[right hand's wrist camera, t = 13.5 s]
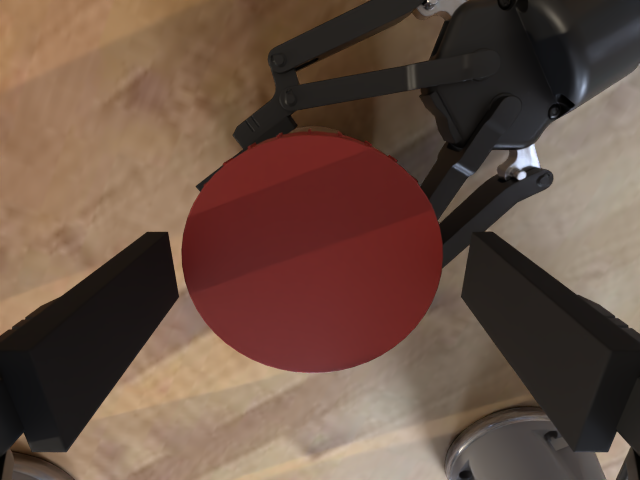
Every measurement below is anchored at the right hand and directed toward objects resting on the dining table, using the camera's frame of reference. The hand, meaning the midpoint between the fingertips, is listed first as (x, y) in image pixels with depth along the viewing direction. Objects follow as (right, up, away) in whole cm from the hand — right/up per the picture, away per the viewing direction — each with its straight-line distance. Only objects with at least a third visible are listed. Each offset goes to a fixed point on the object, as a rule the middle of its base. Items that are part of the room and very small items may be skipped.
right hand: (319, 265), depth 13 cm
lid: (0, 0, 0) cm, 0 cm away
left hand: (-4, +1, +10) cm, 10 cm away
